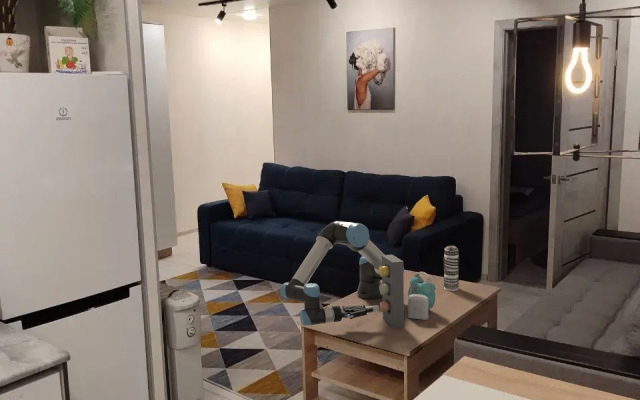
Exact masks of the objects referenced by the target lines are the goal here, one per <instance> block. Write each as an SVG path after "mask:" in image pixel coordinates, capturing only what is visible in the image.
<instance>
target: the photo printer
mask: <svg viewBox="0 0 640 400" xmlns="http://www.w3.org/2000/svg"><path fill="white" fill-rule="evenodd" d="M407 318H409V319H414V320H416V319H417V320H423V321H424V320H426V321H427V320H429V309H428V297H426V296H424V295H419V294H413V295H409V298H408V297H407Z"/></svg>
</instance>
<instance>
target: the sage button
mask: <svg viewBox="0 0 640 400" xmlns="http://www.w3.org/2000/svg"><path fill="white" fill-rule="evenodd" d="M379 289H380V293H381V294H390V284H388V283H387V284H382V283H381V284H380V286H379Z"/></svg>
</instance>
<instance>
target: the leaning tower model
mask: <svg viewBox="0 0 640 400" xmlns="http://www.w3.org/2000/svg"><path fill="white" fill-rule="evenodd" d="M459 260H460V255H459V248H457V246H456V245H448V246H446V247H445V248H444V257H443V261H442V262H443V270H444V275H443V278H444V279H443V281H444V282H443V289H444V290H446V291H448V292H455V291H458V290H459V289H460V288H459V287H460V285H459V284H460V277H459V270H460V267H459V266H460V261H459Z"/></svg>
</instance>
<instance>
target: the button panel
mask: <svg viewBox="0 0 640 400" xmlns="http://www.w3.org/2000/svg"><path fill="white" fill-rule="evenodd" d="M382 266H389V267H390V276H384V277H382V280H381V284H387V283H388V284H390V294H382V295H383V296H382V302H384V301H389V302H390V311H387V312H382V319H383V321H385V323H386V324H388V326H390V327H391V328H393V329H400V328H405V307H404V306H405V304H404V303H405V300H404V299H405V296H404V295H405V294H404V284H405V283H404V273H403V266H404V260H401V258H398V257H397V256H395V255H394V254H384V255H383V256H382Z"/></svg>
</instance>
